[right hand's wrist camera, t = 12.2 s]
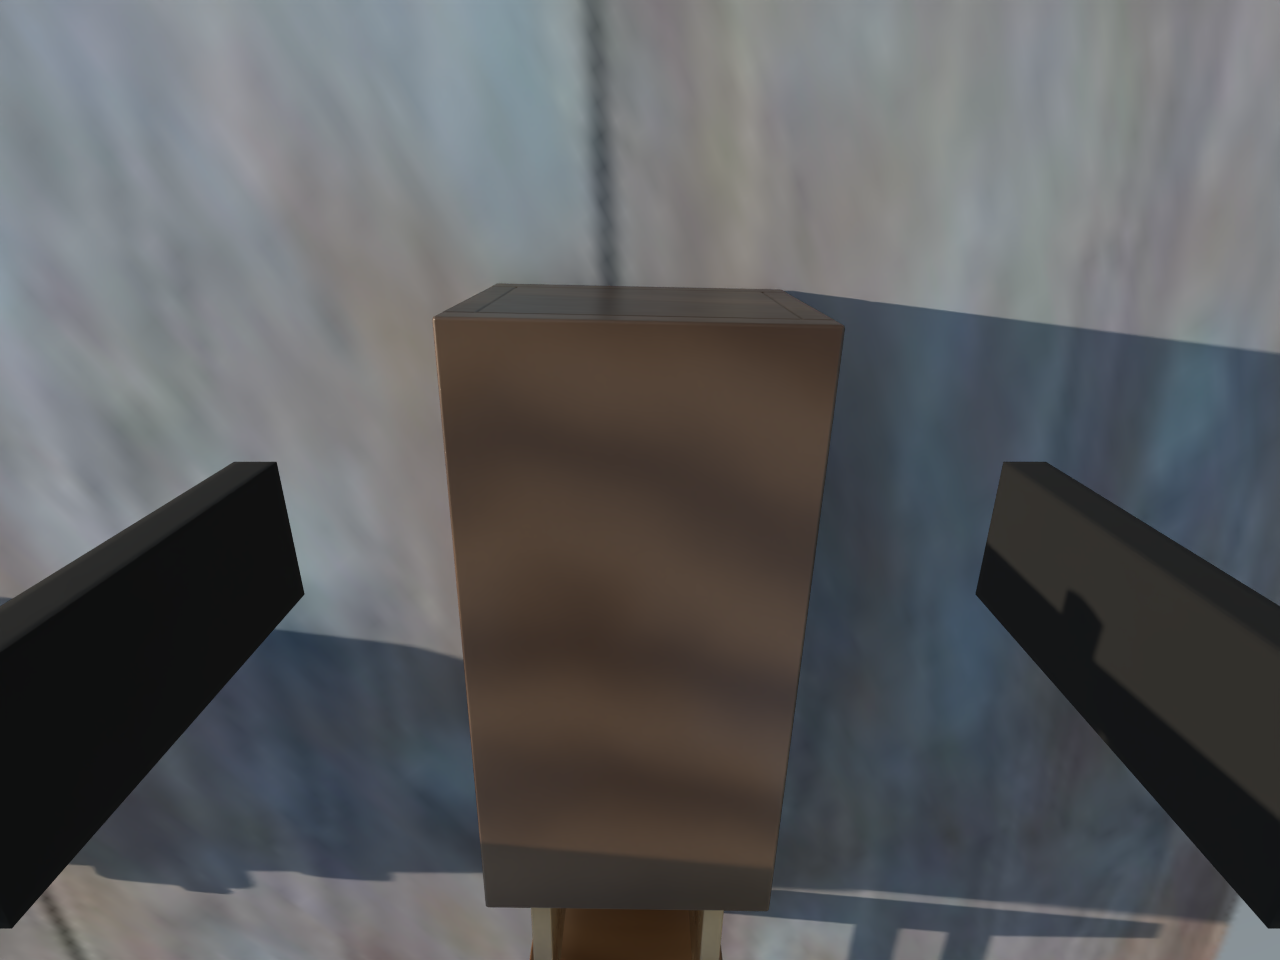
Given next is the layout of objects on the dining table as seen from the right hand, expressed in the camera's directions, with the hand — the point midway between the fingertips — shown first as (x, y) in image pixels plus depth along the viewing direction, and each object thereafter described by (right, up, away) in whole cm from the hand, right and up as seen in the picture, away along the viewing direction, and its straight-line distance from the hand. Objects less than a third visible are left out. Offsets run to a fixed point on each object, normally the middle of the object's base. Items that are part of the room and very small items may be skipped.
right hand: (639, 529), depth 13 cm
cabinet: (0, -2, +16) cm, 16 cm away
